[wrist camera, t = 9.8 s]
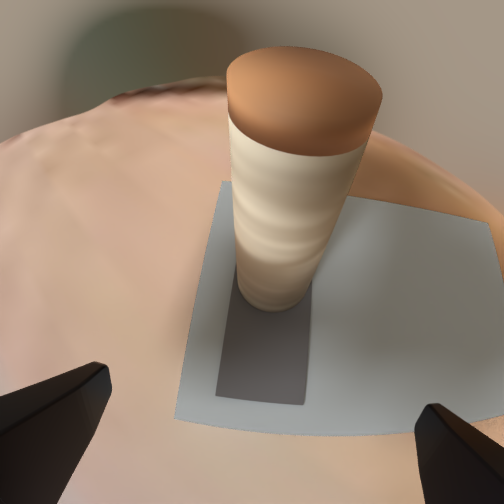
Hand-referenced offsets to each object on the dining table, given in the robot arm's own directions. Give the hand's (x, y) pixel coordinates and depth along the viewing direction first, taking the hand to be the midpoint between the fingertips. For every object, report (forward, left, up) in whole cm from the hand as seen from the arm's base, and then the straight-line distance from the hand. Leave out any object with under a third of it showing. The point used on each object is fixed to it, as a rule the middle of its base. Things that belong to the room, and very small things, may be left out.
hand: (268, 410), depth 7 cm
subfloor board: (+9, +1, -8) cm, 12 cm away
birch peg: (+4, +5, -6) cm, 9 cm away
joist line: (+4, +5, -6) cm, 9 cm away
